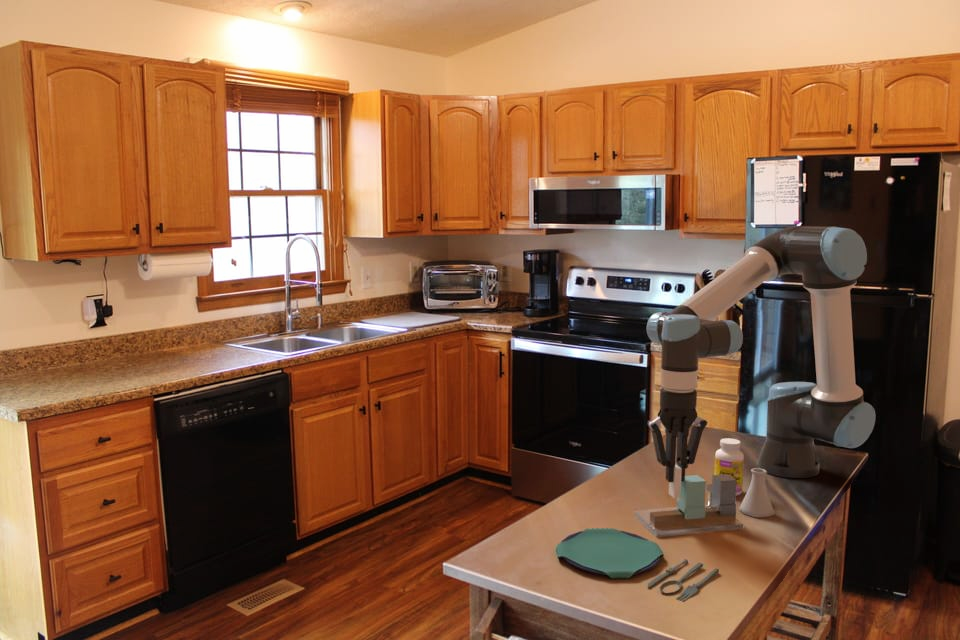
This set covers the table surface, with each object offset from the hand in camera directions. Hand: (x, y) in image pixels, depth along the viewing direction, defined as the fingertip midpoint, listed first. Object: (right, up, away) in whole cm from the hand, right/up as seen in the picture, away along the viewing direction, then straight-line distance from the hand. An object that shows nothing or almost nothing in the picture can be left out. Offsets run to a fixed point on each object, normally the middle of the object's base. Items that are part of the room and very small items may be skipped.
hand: (674, 495), depth 174 cm
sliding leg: (+3, -5, +4) cm, 7 cm away
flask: (+21, -6, +10) cm, 24 cm away
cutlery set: (-12, -11, -16) cm, 23 cm away
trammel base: (+4, -7, +4) cm, 9 cm away
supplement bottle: (+18, -4, +23) cm, 30 cm away
